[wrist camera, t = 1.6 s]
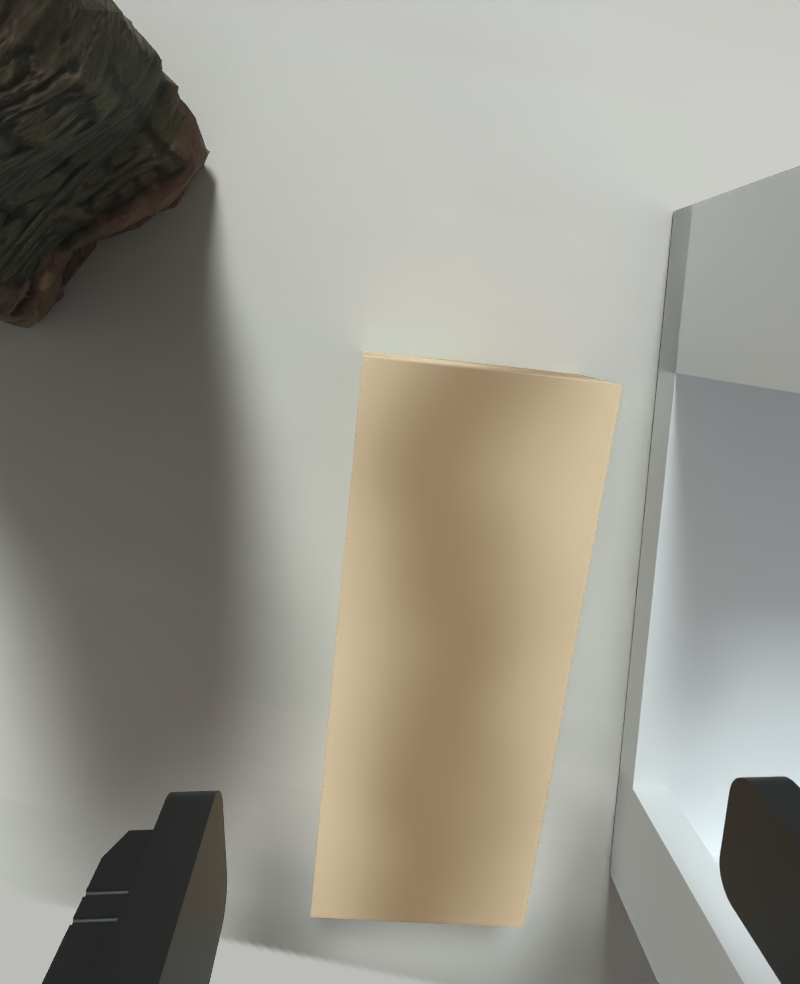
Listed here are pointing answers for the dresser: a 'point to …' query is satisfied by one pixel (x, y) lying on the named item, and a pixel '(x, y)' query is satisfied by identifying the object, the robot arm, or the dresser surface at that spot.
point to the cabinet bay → (714, 579)
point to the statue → (80, 143)
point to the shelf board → (455, 634)
